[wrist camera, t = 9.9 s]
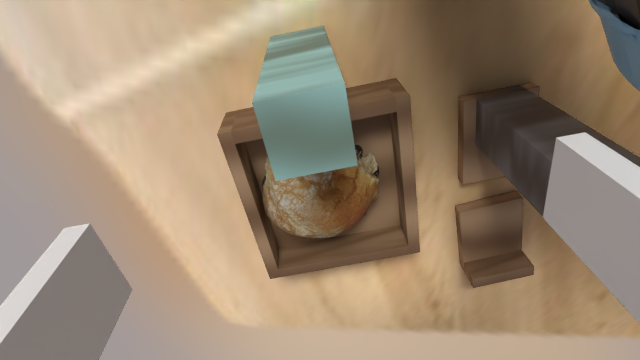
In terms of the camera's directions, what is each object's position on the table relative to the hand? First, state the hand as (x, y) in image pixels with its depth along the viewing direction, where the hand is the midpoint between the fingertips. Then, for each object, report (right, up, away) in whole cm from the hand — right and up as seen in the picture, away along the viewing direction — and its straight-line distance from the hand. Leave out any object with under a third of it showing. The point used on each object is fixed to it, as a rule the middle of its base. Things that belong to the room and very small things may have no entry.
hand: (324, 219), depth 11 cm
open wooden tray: (0, +4, +22) cm, 22 cm away
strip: (+17, -4, +28) cm, 33 cm away
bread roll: (0, +2, +23) cm, 23 cm away
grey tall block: (+15, +5, +22) cm, 27 cm away
